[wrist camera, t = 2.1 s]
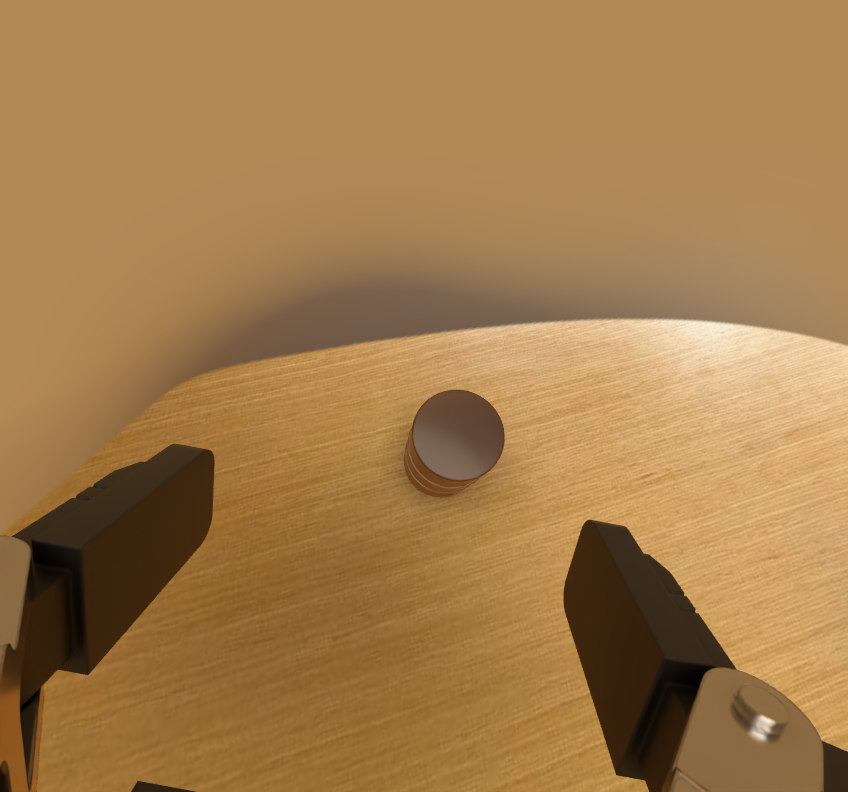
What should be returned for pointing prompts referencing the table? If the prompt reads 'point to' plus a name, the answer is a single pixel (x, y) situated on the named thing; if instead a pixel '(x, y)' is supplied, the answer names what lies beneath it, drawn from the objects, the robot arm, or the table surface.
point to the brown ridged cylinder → (452, 442)
